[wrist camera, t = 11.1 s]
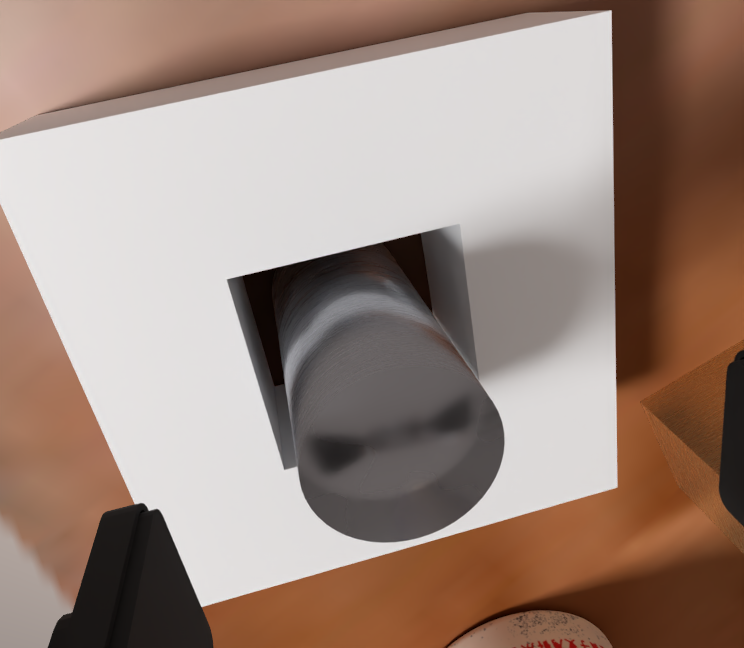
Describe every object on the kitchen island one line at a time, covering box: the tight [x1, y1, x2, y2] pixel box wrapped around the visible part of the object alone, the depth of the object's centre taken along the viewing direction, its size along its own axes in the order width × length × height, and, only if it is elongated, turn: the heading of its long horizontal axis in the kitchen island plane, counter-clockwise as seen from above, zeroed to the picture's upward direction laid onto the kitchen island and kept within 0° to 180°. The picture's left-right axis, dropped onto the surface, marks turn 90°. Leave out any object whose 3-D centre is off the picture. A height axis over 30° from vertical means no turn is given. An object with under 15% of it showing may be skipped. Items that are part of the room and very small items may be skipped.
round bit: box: [272, 243, 505, 543], centre depth 15 cm, size 4×4×8 cm
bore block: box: [0, 10, 617, 607], centre depth 16 cm, size 12×12×4 cm
